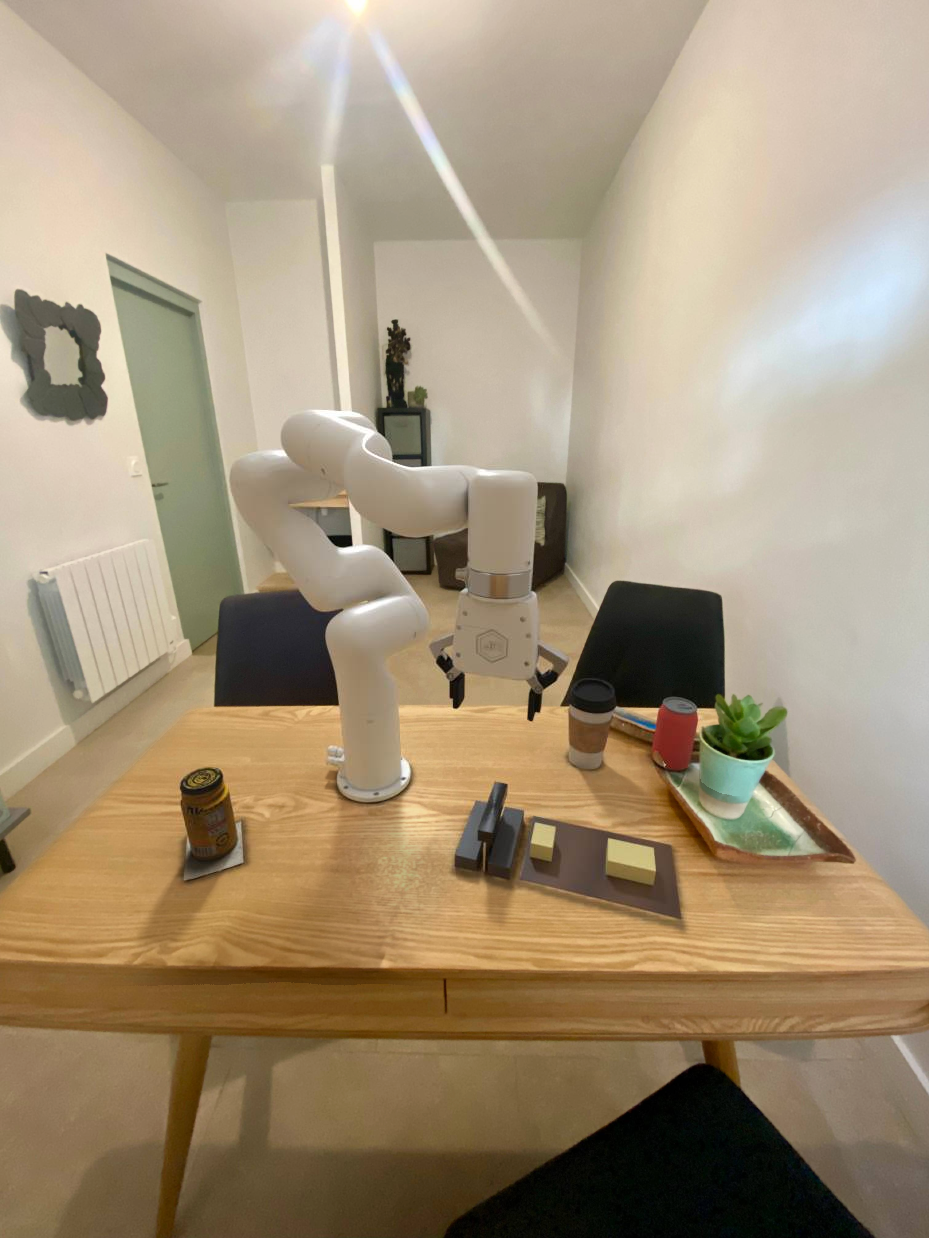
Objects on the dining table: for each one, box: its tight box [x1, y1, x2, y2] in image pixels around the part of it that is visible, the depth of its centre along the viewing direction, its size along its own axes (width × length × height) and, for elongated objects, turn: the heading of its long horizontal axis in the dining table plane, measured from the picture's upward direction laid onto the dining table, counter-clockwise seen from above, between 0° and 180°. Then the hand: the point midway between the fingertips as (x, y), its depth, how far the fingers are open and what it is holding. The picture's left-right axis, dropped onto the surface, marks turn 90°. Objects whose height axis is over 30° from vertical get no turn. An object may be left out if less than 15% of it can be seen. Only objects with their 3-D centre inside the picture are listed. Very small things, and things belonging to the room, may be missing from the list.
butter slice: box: [530, 822, 556, 862], centre depth 68 cm, size 3×4×2 cm
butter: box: [606, 838, 656, 885], centre depth 65 cm, size 6×4×2 cm, turn 74°
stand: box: [454, 800, 525, 881], centre depth 69 cm, size 8×11×3 cm
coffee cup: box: [567, 677, 617, 771], centre depth 87 cm, size 8×8×15 cm
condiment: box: [179, 766, 244, 882], centre depth 67 cm, size 7×8×12 cm
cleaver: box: [477, 781, 509, 872], centre depth 68 cm, size 2×10×8 cm, turn 164°
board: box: [519, 815, 682, 920], centre depth 67 cm, size 20×12×1 cm, turn 74°
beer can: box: [650, 696, 699, 772], centre depth 87 cm, size 7×7×12 cm
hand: (494, 709), depth 62 cm, fingers open, 9 cm apart
